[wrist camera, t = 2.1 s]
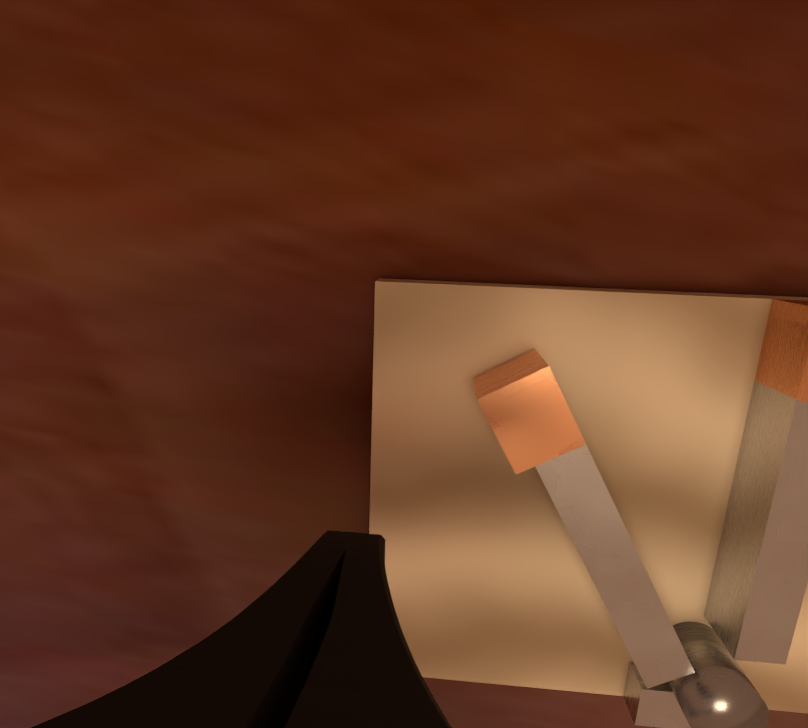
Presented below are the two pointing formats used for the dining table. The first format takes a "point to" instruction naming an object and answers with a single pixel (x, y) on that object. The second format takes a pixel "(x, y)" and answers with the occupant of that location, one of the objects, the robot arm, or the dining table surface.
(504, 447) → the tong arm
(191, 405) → the dining table surface
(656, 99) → the dining table surface
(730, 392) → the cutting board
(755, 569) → the tongs fixed
